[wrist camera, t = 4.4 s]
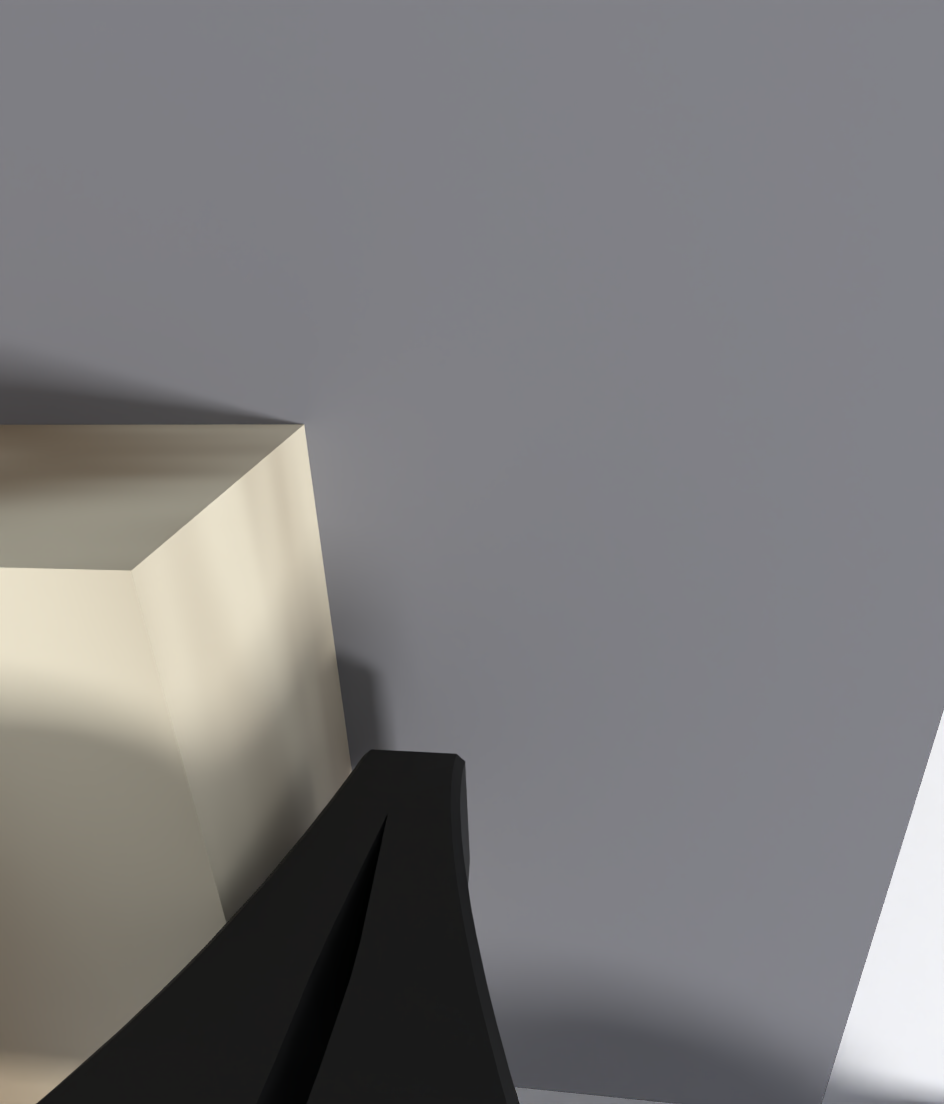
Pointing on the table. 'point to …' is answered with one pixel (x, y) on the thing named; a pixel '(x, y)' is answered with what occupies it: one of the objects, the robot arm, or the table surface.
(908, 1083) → the table surface
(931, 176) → the rubber mat
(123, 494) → the birch block
